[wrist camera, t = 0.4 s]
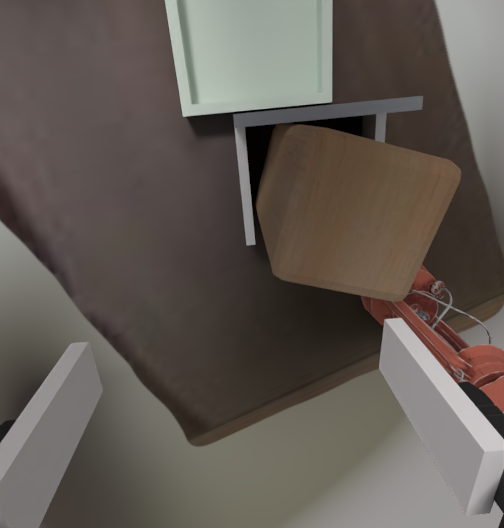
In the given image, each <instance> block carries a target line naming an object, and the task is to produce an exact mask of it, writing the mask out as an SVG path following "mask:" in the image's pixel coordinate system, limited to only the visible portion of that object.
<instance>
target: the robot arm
mask: <svg viewBox="0 0 504 528" xmlns="http://www.w3.org/2000/svg"><path fill="white" fill-rule="evenodd" d="M379 369H380V371H381V373H382V374H383V376H384V378H385V379H386V381H387V383H388V385H389V386H390V388H391V390H392V391H393V393H394V395H395V396H396V398H397V400H398V402H399V403H400V405H401V407H402V408H403V410H404V412H405V414H406V415H407V417H408V419H409V420H410V422H411V424H412V425H413V427H414V429H415V431H416V432H417V434H418V436H419V438H420V439H421V441H422V443H423V444H424V446H425V447H426V449H427V451H428V453H429V455H430V456H431V458H432V460H433V461H434V463H435V465H436V467H437V468H438V470H439V472H440V473H441V475H442V477H443V478H444V480H445V482H446V484H447V485H448V487H449V488H450V490H451V492H452V494H453V496H454V497H455V499H456V501H457V502H458V504H459V506H460V508H461V509H462V511H463V513H464V514H465V515H475V514H485V513H490V511H491V508H492V505H493V503H494V500H495V502H496V503H497V505H498V506H499V507H500V509H501V510H502V512H503V513H504V415H503V412H502V411H501V410H500V409H499V408H498V407H497V406H495V405H494V403H493V401H492V400H491V399H490V398H489V397H488V396H487V395H486V394H485V393H484V392H483V391H482V390H480V389H479V388H477V387H476V386H474V385H473V384H471V383H470V382H458V383H456V382H455V381H454V380H453V379H452V377H451V376H450V375H449V374H448V373H447V371H446V370H445V369H444V368H443V367H442V365H441V364H440V363H439V362H438V361H437V360H436V358H435V357H434V356H433V355H432V354H431V352H430V351H429V350H428V349H427V348H426V346H425V345H424V344H423V343H422V342H421V341H420V339H419V338H418V337H417V336H416V335H415V333H414V332H413V331H412V330H411V329H410V328H409V326H408V325H407V324H406V323H405V322H404V320H403V319H402V318H393V319H385V320H384V328H383V337H382V345H381V354H380V363H379ZM102 392H103V389H102V385H101V381H100V378H99V375H98V371H97V368H96V365H95V361H94V358H93V355H92V351H91V348H90V344H89V342H81V343H71V344H70V346H69V347H68V348H67V350H66V351H65V353H64V354H63V355H62V357H61V358H60V360H59V361H58V363H57V364H56V365H55V367H54V368H53V370H52V371H51V372H50V374H49V375H48V377H47V378H46V379H45V381H44V382H43V384H42V385H41V387H40V388H39V389H38V391H37V392H36V394H35V395H34V396H33V398H32V399H31V401H30V402H29V403H28V405H27V406H26V408H25V409H24V411H23V412H22V413H21V415H20V416H19V418H18V419H17V420H9V421H5V422H4V423H3V424H2V425H0V528H39V526H40V523H41V521H42V519H43V517H44V515H45V513H46V511H47V509H48V507H49V504H50V502H51V500H52V498H53V496H54V494H55V492H56V489H57V487H58V485H59V483H60V481H61V479H62V476H63V475H64V473H65V470H66V468H67V466H68V464H69V462H70V460H71V457H72V456H73V453H74V451H75V449H76V447H77V445H78V443H79V440H80V438H81V436H82V434H83V432H84V430H85V428H86V426H87V424H88V421H89V419H90V417H91V415H92V413H93V411H94V409H95V406H96V404H97V402H98V400H99V398H100V396H101V394H102ZM498 528H504V514H503V517H502V520H501V522H500V525H499V527H498Z"/></svg>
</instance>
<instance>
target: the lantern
mask: <svg viewBox="0 0 504 528" xmlns="http://www.w3.org/2000/svg"><path fill="white" fill-rule="evenodd" d="M446 291H447V292H448V294H449V297H450V302H449V305H447V304H445V303H443V302H441V301H439V300H440V299H442V298H443V297H444V295H445V292H446ZM361 298H362V302H363V305H364V308H365V309H366V310H367V311H368V312H369V313H370V314H371V315H372V316H373V317H374V318H375V319H376V320H377V321H378V322H379V323H380V324H381V325H383V326H384V320H385V319H393V318H402V319H403V320H404V322H405V323H406V324H407V325H408V326H409V328H410V329H411V330H412V331H413V332H414V333H415V335H416V336H417V337H418V338H419V339H420V341H421V342H422V343H423V344H424V345H425V346H426V348H427V349H428V350H429V351H430V352H431V354H432V355H433V356H434V357H435V358H436V360H437V361H438V362H439V363H440V364H441V365H442V366H443V368H444V369H445V370H446V371H447V373H448V374H449V375H450V376H451V377H452V379H453V380H454V381H455V382H456V383H458V382H470V383H471V384H473V385H474V386H476V387H477V388H479V389H480V390H482V391H483V392H484V393H485V394H486V395H487V396H488V397H489V398H490V399H491V400H492V401H493V403H494V405H495V406H497V407H498V408H499V409H500V410H501V411H502V412H503V415H504V351H503V350H502V349H500V348H498V347H496V346H493V345H492V344H491V342H492V338H491V336H490V333H489V330H488V328H487V327H486V326H485V325H484V324H483V323H482V322H480V321H479V320H477V319H476V318H474V317H472V316H470V315H468V314H466V313H464V312H462V311H460V310H458V309H456V308H453V307H451V305H452V297H451V294H450V292H449V291H448V290H447V289H446V287H445V284H444V283H443V282H442V281H436V280H435V279H434V277H433V276H432V275H431V274H430V273H429V272H428V271H427V270H426V268H425V267H424V266H423V265H422V264H421V267H420V269H419V271H418V273H417V275H416V277H415V280H414V282H413V284H412V286H411V288H410V290H409V292H408V295H407V296H406V297H405V298H404V299H403V300H402V301H397V302H392V301H387V300H382V299H377V298H372V297H367V296H361ZM438 302H439V303H441V304H443V305H445V306H447V308H446V309H445V310H444V311H443V313H442V314H441V315H440V316H439V318H438V317H437V316H436V315H437V311H438ZM449 308H451V309H453V310H455V311H457V312H460V313H462V314H464V315H466V316H468V317H470V318H472V319H474V320H475V321H477V322H479V323H480V324H481V325H482V326H483V327H484V328H485V329H486V330H487V333H488V335H489V345H475V346H472V347H470V346H469V345H468V344H467V343H466V342H465V341H464V340H463V339H462V338H461V337H460V336H459V335H458V334H457V333H456V332H454V331H453V330H452V329H451V328H450V327H449V326H448V325H446V324H445V323H444V322H443V321H442V320H441V319H442V317H443V316H444V315H445V314H446V312H447V311H448V310H449ZM434 331H435V332H436V333H437V334H438V335H439V336H440V337H441V338H442V339H443V340H444V341H446V342H447V343H448V344H449V345H450V346H451V347H452V348H453V350H454V351H455V352H456V353H457V354H456V353H455V352H454V351H453V350H452V349H451V348H450V347H449V346H448V345H447V344H446V343H445V342H444V341H443V340H442V339H441V338H440V337H439V336H438V335H437V334H436V333H435V332H434Z"/></svg>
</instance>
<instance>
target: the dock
mask: <svg viewBox="0 0 504 528" xmlns="http://www.w3.org/2000/svg"><path fill="white" fill-rule="evenodd" d="M422 103H423V96H416V97H405V98H395V99H385V100H374V101H364V102H354V103H343V104H333V105H323V106H313V107H302V108H292V109H282V110H271V111H261V112H251V113H241V114H233V119H234V128H235V138H236V148H237V158H238V168H239V178H240V187H241V197H242V207H243V217H244V227H245V236H246V245H255V234H254V223H253V212H252V201H251V190H250V179H249V168H248V157H247V146H246V135H245V127H249V126H259V125H270V124H280V123H290V122H300V121H311V120H321V119H331V118H341V117H352V116H362V134H361V137H364V138H368V139H372V140H375V141H379V142H383V143H385V129H386V113H392V112H403V111H413V110H422Z"/></svg>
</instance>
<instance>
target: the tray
mask: <svg viewBox="0 0 504 528" xmlns="http://www.w3.org/2000/svg"><path fill="white" fill-rule="evenodd" d="M165 4H166V11H167V17H168V24H169V30H170V36H171V43H172V49H173V56H174V62H175V68H176V75H177V81H178V88H179V94H180V100H181V107H182V113H183V117H187V116H197V115H207V114H218V113H228V112H238V111H249V110H259V109H269V108H280V107H290V106H300V105H310V104H321V103H330V102H332V0H165Z"/></svg>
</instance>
